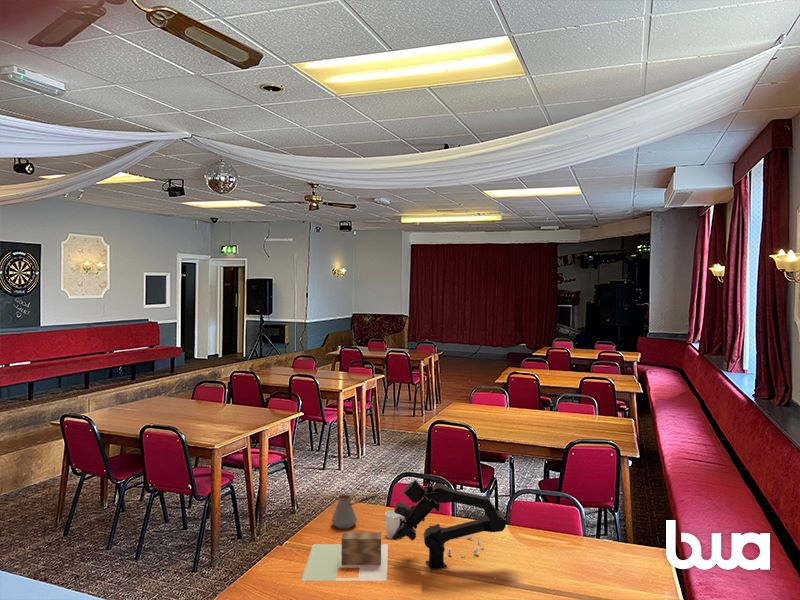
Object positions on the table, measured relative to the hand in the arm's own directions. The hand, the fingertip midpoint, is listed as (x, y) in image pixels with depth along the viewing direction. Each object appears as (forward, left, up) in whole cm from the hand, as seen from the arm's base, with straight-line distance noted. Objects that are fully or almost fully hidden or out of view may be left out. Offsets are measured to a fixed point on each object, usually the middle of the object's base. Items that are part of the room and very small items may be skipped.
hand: (392, 538), depth 227 cm
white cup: (+25, -8, -10) cm, 28 cm away
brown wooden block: (+4, +12, -9) cm, 15 cm away
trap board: (+5, +17, -10) cm, 20 cm away
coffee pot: (+40, +6, -10) cm, 42 cm away
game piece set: (+7, -31, -11) cm, 34 cm away
